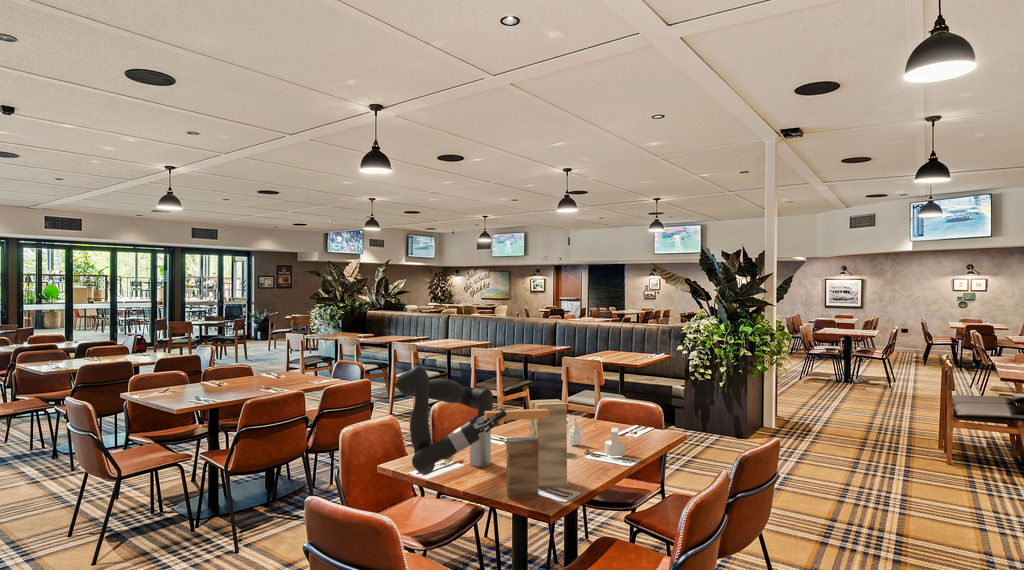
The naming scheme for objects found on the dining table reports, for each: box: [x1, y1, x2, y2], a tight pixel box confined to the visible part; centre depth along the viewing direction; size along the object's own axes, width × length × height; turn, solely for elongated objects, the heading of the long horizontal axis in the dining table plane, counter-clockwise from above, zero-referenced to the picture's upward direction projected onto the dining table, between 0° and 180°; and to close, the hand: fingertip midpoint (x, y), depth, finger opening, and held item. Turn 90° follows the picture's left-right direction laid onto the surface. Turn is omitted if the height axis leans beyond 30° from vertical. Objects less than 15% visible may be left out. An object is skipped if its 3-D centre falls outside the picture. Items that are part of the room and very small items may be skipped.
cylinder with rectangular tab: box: [604, 427, 626, 456], centre depth 258 cm, size 9×9×12 cm
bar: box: [485, 408, 549, 422], centre depth 206 cm, size 3×24×3 cm, turn 104°
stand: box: [529, 398, 571, 490], centre depth 220 cm, size 12×14×32 cm
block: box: [506, 436, 539, 500], centre depth 206 cm, size 4×11×21 cm, turn 104°
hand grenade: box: [568, 416, 585, 446], centre depth 276 cm, size 8×6×14 cm
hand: (503, 411), depth 205 cm, fingers closed on bar, 3 cm apart
